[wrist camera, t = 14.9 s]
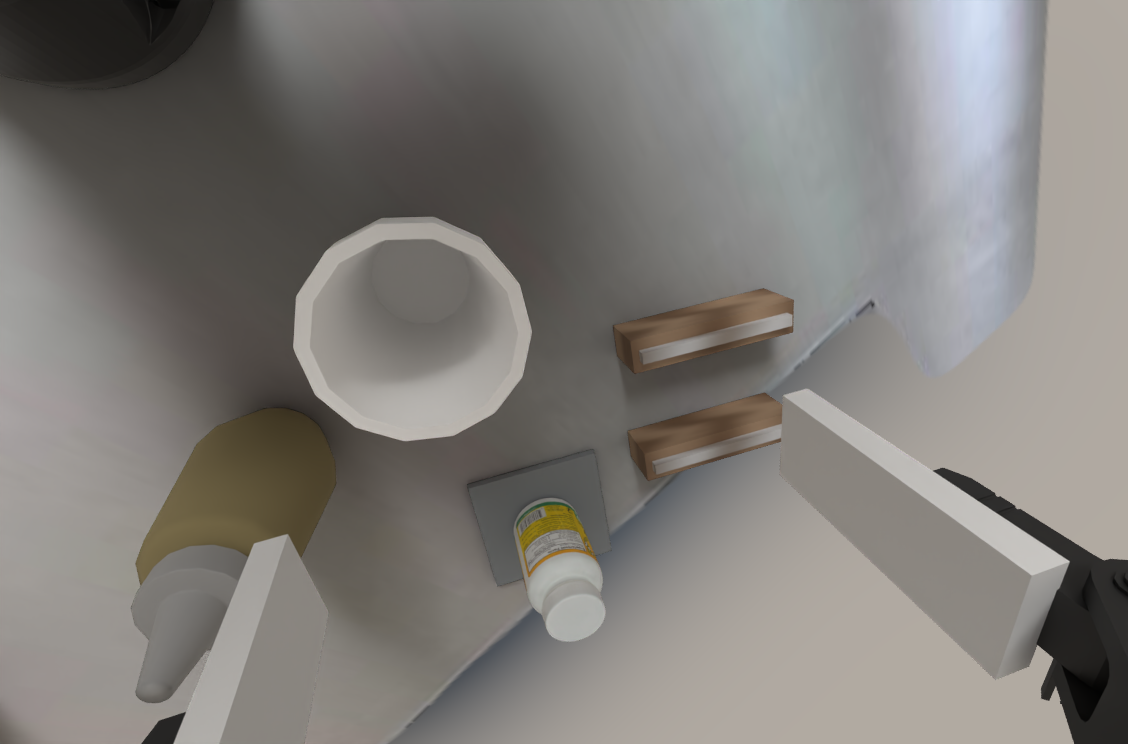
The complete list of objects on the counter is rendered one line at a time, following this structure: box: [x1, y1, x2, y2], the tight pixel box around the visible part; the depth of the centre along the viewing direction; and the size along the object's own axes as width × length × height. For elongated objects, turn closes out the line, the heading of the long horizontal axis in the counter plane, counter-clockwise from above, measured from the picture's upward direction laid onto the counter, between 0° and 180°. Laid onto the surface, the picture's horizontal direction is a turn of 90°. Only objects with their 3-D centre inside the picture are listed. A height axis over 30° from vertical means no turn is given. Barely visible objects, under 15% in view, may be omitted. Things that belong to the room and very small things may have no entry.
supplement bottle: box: [514, 498, 606, 642], centre depth 38 cm, size 5×5×10 cm
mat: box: [467, 449, 611, 587], centre depth 42 cm, size 10×10×1 cm
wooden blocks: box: [613, 288, 794, 481], centre depth 39 cm, size 12×11×4 cm
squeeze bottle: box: [131, 408, 336, 703], centre depth 27 cm, size 8×8×18 cm
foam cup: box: [293, 217, 532, 441], centre depth 27 cm, size 10×9×13 cm
